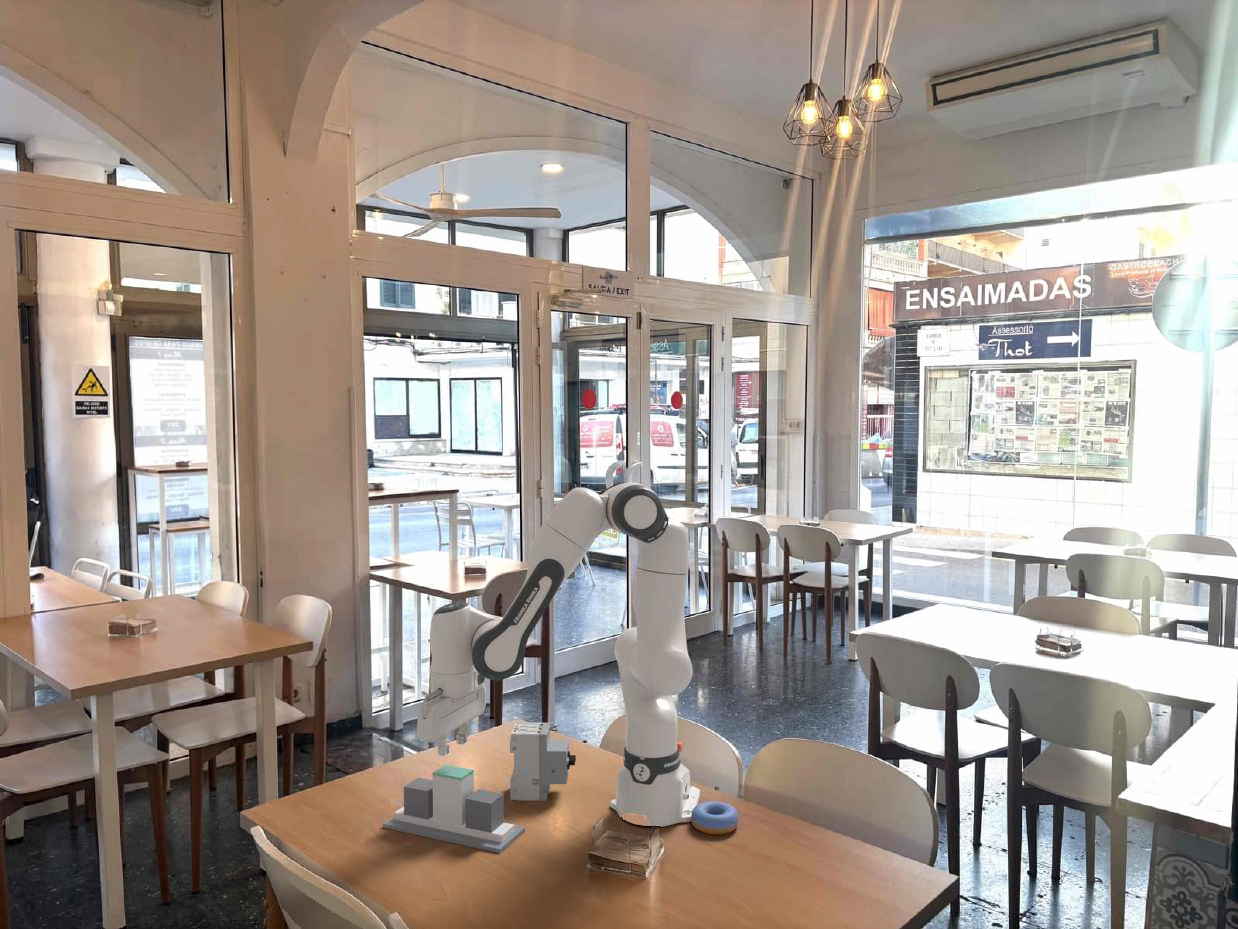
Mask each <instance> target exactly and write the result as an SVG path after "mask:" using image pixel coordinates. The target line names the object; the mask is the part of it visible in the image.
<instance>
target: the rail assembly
mask: <svg viewBox="0 0 1238 929" xmlns="http://www.w3.org/2000/svg"><path fill="white" fill-rule="evenodd" d="M504 796H505V794H504V793H502V792H498V791H497V792H495V791H490V790H486V789H480V788H478V789H476V790H474V793H472V794H471V795H470V796H468V797H467V798H465V823H466V824H464V825H463V826H459V825H454V824H449V823H444V822H440V821H435V820H433V779H427V778H421V777H417V778H415V779H414V780H412V781H410V782H409V783H407V784H405V785H403V806H402V807H401V808H398V810H396V811H395V812H394V814H393V815H394V816H392V817H391V818H389V819H388V820H386V821H385V822H383V823H382V828H385V829H388V830H392V831H398V832H403V833H405V834H411V835H415V836H420V837H424V838H428V839H429V838H430V839H434V840H438V841H442V842H443V841H444V842H448V843H452V844H457V845H461V846H464V847H471V848H474V849H479V850H484V851H489V852H492V853H497V854H501V853H503V851H505V850H506V849H507V848H508V847H509V846H510V845H511V844H512V843H513V842H515V841H516V840H517V839H518V838H519V837H521V835H522V834H523V833H525V831H526V828H525V827H523V826H520V825H515V824H514V823H507V822H505V804H504V803H505V797H504Z"/></svg>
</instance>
